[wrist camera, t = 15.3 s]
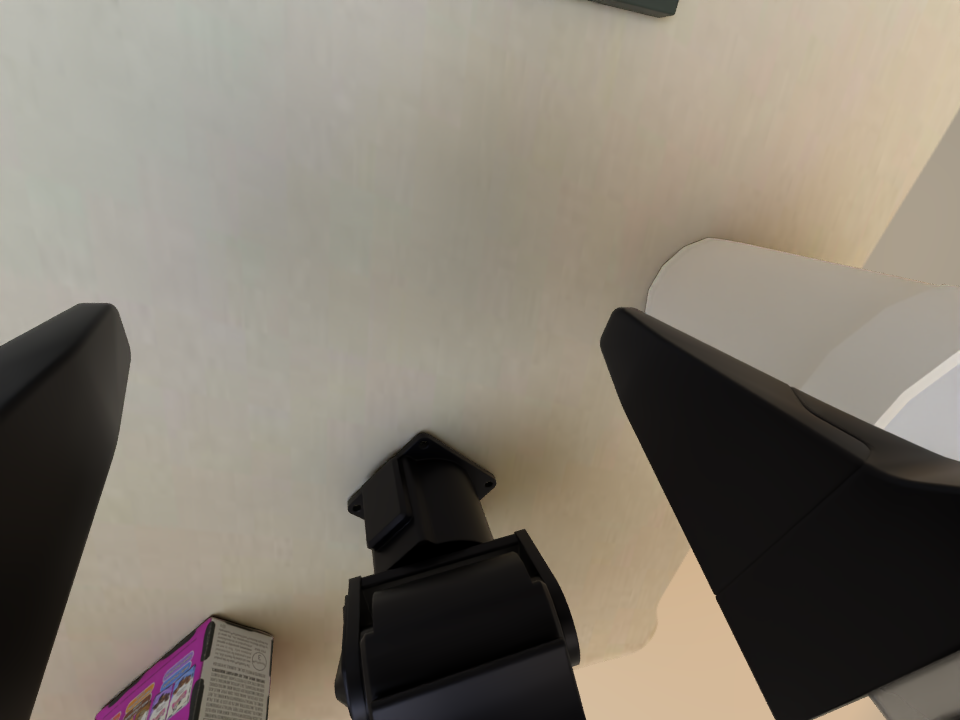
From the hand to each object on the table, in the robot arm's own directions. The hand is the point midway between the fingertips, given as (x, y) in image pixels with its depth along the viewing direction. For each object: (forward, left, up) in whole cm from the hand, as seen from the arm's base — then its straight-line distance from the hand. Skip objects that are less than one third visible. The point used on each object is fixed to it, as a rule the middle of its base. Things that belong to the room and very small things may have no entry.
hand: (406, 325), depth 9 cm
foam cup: (-17, -8, -13) cm, 22 cm away
